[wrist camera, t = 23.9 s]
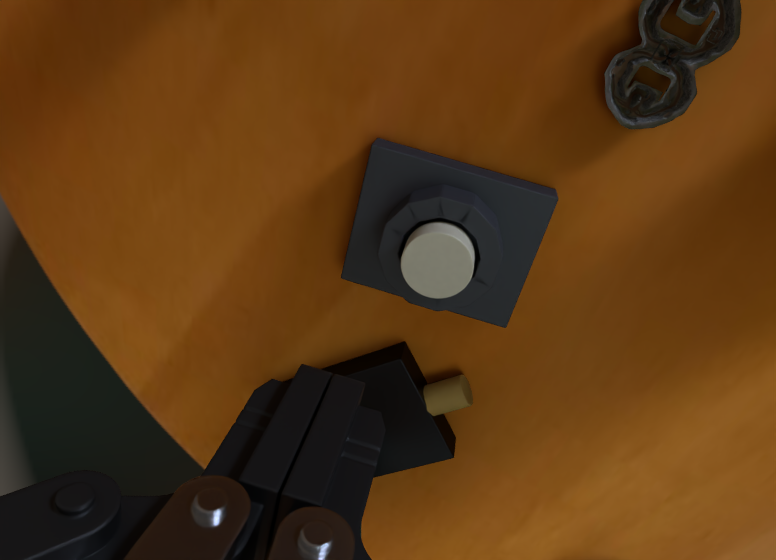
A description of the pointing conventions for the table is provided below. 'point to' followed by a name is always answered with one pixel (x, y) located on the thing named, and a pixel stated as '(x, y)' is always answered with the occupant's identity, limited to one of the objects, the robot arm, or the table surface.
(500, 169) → the table surface
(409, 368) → the valve block
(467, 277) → the button
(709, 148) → the table surface
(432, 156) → the button housing
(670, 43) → the corroded twin loop
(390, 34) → the table surface
